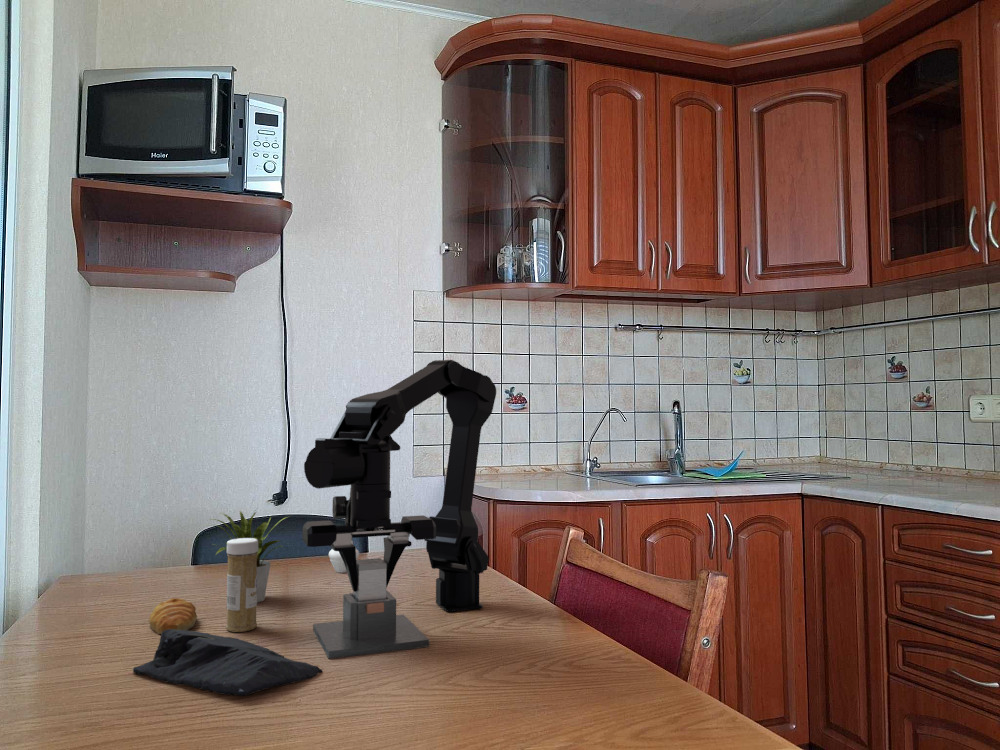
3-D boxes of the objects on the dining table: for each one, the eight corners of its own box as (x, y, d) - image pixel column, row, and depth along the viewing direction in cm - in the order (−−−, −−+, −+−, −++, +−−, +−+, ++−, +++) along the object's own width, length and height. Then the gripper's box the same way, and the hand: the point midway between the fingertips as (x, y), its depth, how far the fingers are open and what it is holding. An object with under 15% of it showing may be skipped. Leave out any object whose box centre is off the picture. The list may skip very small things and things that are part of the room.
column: (379, 625, 114) (380, 558, 114) (385, 633, 110) (386, 563, 110) (352, 628, 112) (353, 560, 112) (358, 636, 108) (358, 565, 109)
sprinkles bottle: (260, 629, 115) (262, 540, 116) (229, 634, 112) (231, 543, 113) (252, 622, 119) (253, 536, 119) (222, 627, 116) (223, 538, 117)
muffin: (355, 574, 153) (355, 539, 153) (325, 574, 153) (325, 539, 154) (361, 567, 159) (361, 534, 160) (332, 567, 159) (332, 534, 160)
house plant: (179, 605, 129) (181, 508, 130) (236, 587, 142) (237, 499, 142) (246, 614, 124) (248, 513, 124) (299, 594, 136) (300, 503, 137)
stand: (403, 620, 120) (403, 582, 120) (429, 646, 107) (429, 603, 107) (313, 630, 115) (313, 590, 115) (328, 659, 102) (329, 613, 102)
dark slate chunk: (227, 715, 84) (228, 672, 85) (123, 674, 97) (124, 637, 97) (332, 676, 97) (333, 638, 97) (227, 644, 110) (228, 611, 110)
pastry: (200, 634, 114) (200, 608, 114) (150, 640, 110) (151, 614, 111) (194, 618, 122) (194, 594, 122) (147, 624, 119) (148, 599, 119)
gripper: (416, 475, 123) (416, 573, 122) (298, 479, 116) (296, 583, 115) (437, 482, 113) (436, 588, 112) (308, 487, 105) (307, 600, 105)
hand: (369, 589), depth 111 cm, fingers closed on column, 4 cm apart
